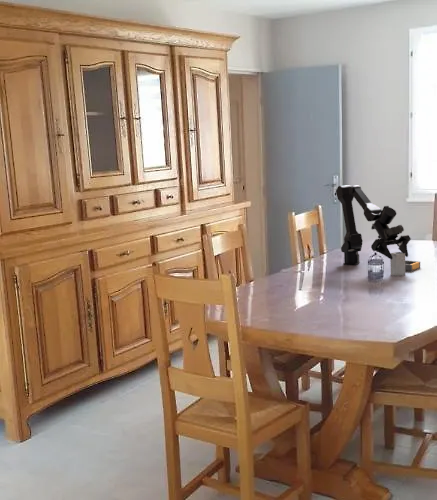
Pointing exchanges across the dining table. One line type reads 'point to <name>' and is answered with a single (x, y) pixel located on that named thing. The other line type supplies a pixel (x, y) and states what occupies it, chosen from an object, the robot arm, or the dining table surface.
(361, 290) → the dining table surface
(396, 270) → the grey upright block
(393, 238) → the robot arm
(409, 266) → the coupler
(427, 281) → the dining table surface
